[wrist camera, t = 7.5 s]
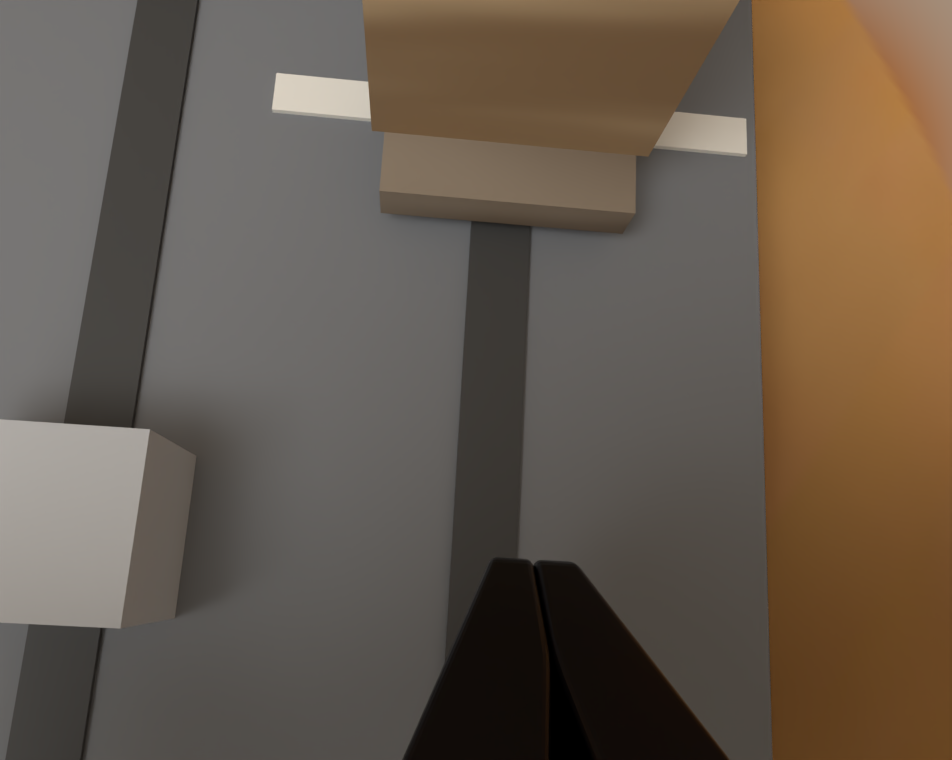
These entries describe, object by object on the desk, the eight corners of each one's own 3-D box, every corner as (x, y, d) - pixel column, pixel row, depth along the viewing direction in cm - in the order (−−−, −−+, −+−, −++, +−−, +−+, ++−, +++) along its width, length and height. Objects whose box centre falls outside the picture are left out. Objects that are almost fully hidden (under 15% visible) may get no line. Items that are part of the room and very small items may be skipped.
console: (725, 944, 14) (873, 1113, 9) (-169, 921, 13) (-462, 1099, 8) (711, -2, 18) (808, -183, 14) (40, -74, 17) (-83, -294, 13)
